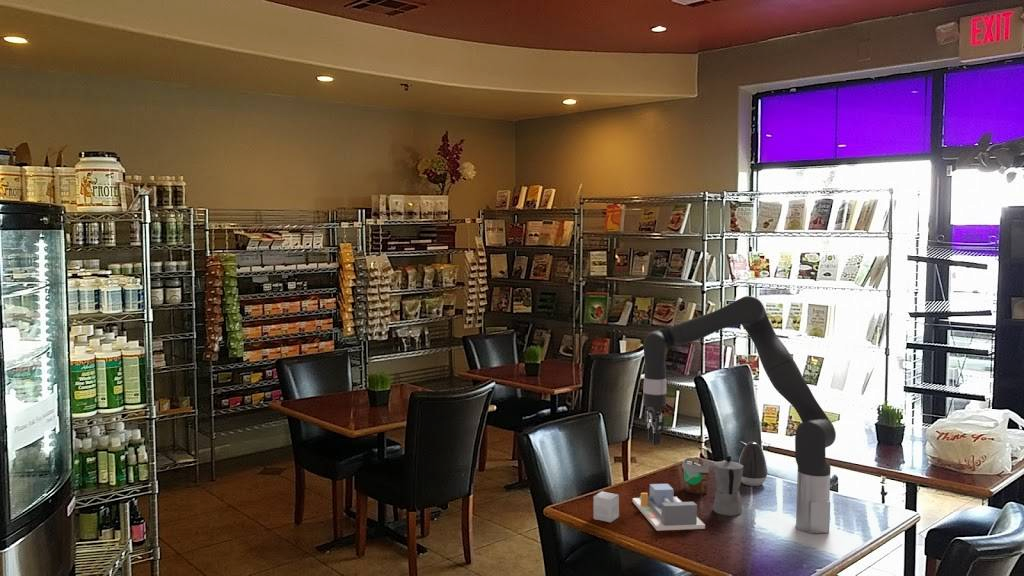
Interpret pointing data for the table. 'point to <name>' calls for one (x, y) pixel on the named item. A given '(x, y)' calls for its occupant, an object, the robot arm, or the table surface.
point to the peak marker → (644, 499)
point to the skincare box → (606, 506)
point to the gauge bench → (658, 522)
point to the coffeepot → (728, 487)
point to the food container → (695, 476)
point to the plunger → (660, 494)
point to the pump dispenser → (753, 464)
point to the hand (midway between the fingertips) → (653, 441)
